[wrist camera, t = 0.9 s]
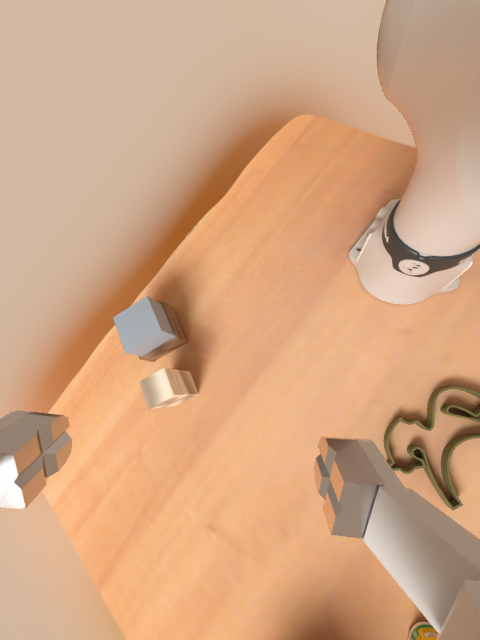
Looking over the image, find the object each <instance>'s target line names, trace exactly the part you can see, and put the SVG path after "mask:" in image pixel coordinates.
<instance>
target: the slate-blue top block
mask: <svg viewBox="0 0 480 640" xmlns="http://www.w3.org/2000/svg"><path fill="white" fill-rule="evenodd" d="M114 322H115V324H116V327H117V330H118V333H119V336H120V339H121V342H122V345H123V348H124V351H125V353H128V354H133V355H138V356H144V355H145V354H147V353H149V352H150V351H152V350H153V349H155V348H157V347H158V346H160V345H162V344H163V343H165V342H167V341H168V340H170V339H171V338H173V337H175V334H174V332H173V330H172V328H171V325H170V323H169V321H168V319H167V316H166V314H165V312H164V309H163V307H162V305H161V304H160V303H158V302H156V301H155V300H153V299H151V298H149V297H148V296H146V297H145V298H143V299H142V300H140V301H139V302H137V303H135V304H134V305H132V306H131V307H129V308H128V309H126V310H124V311H123V312H121V313H120V314H118V315H116V316H115V317H114Z"/></svg>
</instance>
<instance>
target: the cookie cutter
mask: <svg viewBox="0 0 480 640" xmlns="http://www.w3.org/2000/svg"><path fill="white" fill-rule="evenodd" d="M448 389H459V390H463V391H466V392H468V393H470V394H472V395H474V396H476V397H478V398H479V399H480V393H479V392H476V391H474V390H471V389H468V388H463V387H443V388H440V389H437V390H436V391H434V392H433V393H432V394H431V396H430V398H429V401H428V407H427V424H426V426H425V427H424V426H423V425H422V424H421V422H420V421H417V420H414V419H411V420H409V421H404V420H403V419H402V418H401V417H398V416H397V417H396V418H395V419H394V420H393V421H392V422H391V423H390V425H389V426H388V428H387V430H386V432H385V435H384V448H385V451H386V454H387V456H388V458H389V460H388V461H387V462H388V464H389V465H390V467H391V468H392V470H393V471H396V470H400V471H401V472H403V473H405V474H409V473H412V472H413V471H414V470H415V469H419V468H424V469H425V472H426V474H427V476H428V478H429V479H430V481H431V483H432V485H433V486H434V488H435V490H436V491H437V493H438V494H439V496H440V497H441V498H442V500H443V501H444V503H445V504H446V505H447V506H448V507H449V508H451V509H452V510H455V509H457V508H459V507H460V506H462V505H463V504H462V503H461V501H460V499H459V497H458V495H457V493H456V491H455V489H454V487H453V484H452V481H451V477H450V471H449V462H450V457H451V455H452V452H453V451H454V449H455V448H456V447H457V446H458V445H459V444H461V443H462V442H464V441H466V440H469V439H473V438H480V434H466V435H462V436H459V437H456V438H454V439H453V440H451V441H450V442H449V443H448V444H447V445H446V447H445V448H444V450H443V453H442V457H441V469H442V474H443V478H444V481H445V484H446V486H447V488H448V491H449V492H450V494H451V496H452V498H453V499H452V500H450V501H448V500H447V498H446V497H445V495H444V494H443V492H442V491H441V489H440V487H439V486H438V484H437V482H436V480H435V478H434V476H433V474H432V472H431V470H430V467H429V464H428V461H427V457H426V452H425V451H424V450H423V449H421V448H419V447H417V446H415V445H410V446H408V448H407V452H408V453H409V454H410V455H411V456H412V457H414V458H416V459H417V460H418V463H413V464H409V465H408V466H407V467H406V468H399V467H398V466H397V465H393V464H394V463H395V461H394V460H393V458H392V455H391V453H390V449H389V439H390V435H391V433H392V431H393V429H394V428H395V426H396V425H397V424H398V423H399V422H400V421H401V422H403V423H406V424H409V425H411V424H414V423H416V424H417V425H418V426H419V427H420V428H422V429H425V430H429V431H430V430H432V429H433V427H434V409H435V402H436V399H437V397H438V396H439V394H440V393H442V392H443V391H445V390H448ZM451 407H453V408H456V409H458V410H460V411H462V412H464V413H465V414H467V415H468V416H472V417H477V416H479V415H480V405H479V406H478V407H477V408H476V409H475V410H474V411H473V412H470V411H469V410H467V409H465V408H462V407H459V406H455V405H443V406H442V407H441V412H442V413H444V414H447V415H451V416H456V417H461V418H465V419H469V420H473V421H477V422H480V420H478V419H474V418H470V417H465V416H460V415H455V414H452V413H450V412H449V411H448V409H449V408H451ZM416 449H418V450H419V454H420V457H417V456H415V455H414V450H416Z"/></svg>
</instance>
